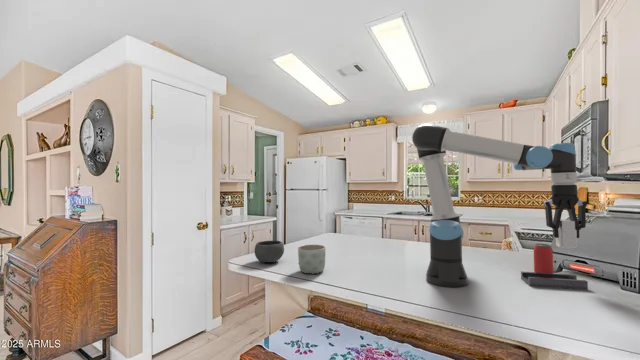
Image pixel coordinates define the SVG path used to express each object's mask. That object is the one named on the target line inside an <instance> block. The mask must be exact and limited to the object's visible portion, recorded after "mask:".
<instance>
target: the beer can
mask: <svg viewBox="0 0 640 360" xmlns="http://www.w3.org/2000/svg"><path fill="white" fill-rule="evenodd" d="M533 272H540V273H554V250H553V248H552V245H551V244H548V243H535V244H534V247H533Z"/></svg>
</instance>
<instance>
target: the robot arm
mask: <svg viewBox="0 0 640 360" xmlns="http://www.w3.org/2000/svg"><path fill="white" fill-rule="evenodd" d="M411 140H412V143H413V146H414V147H415V148H416V151H417V155H418V160H419V161H421V162H422V164H423V167H424V173H425V177H426V182H427V183H426V184H427V189H428V192H429V193H428V194H429V197H430V203H431V209H432V213H433V214H432V216H431V218H430V222H431V223H430V224H429V230H428V231H429V242H430V243H429V246H430V247H429V248H430V249H429V250H430V251H429V252H430V255H429V257H430V260H429V264H428V267H427V270H426V273H425V274H426V275H425V277H426V278H425V279H426V282H428V283H430V284H433V285H436V286H440V287H446V288H460V287H465V286H467V285H468V284H469V282H468V281H469V278H468V275H467V272H466V270H465V266H464V263H463V238H464V230H463V227H462V224H461V219H460V215H459V213H456V212H455V210H454V209H455V208H454V205H453V199H452V195H451V189H450V184H449V180H448V175H447V171H446V166H445V165H446V164H445V159H444V158H445V156H446V155H447V153H446V152H447V151H448V152H449V151H450V152H455V153H459V154H465V155H468V156H474V157H479V158H484V159H487V160H494V161H499V162H503V163H507V164H512V165H513V168H514V170H516V171H533V170H550V182H551V184H552V185H551V189H550V190H551V197H550V199H549V200H544V201H542V204H543V206H544V212H545V222H546V223H545V224H546V227H547V228H548V227H549V228H551V230H552V237H553V238H555V246H556V247H558V248H561V247H562V234H561V229H559V225H560V220H562V219H561V218H562V214H563V212H564V210H566V211H567V213H568V216H569V220H571V221H575V240H576V248H578V239H580V231H581V229H585V228H586V224H587V223H586V222H587V221H586V220H587V219H586V216H587V214H586V210H587V209H586V207H587V206H588V201H586V200H582V199H580V198H579V197H578V185H577V183H578V179H577V176H578V175H577V174H578V173H577V153H576V146H575V144H574V143H573V142H558V143H552V144H550V145H549V148H548V147H546V146H544V145H536V146H533V145H529V144H524V143H517V142H512V141H508V140H507V141H506V140H501V139H496V138H491V137H486V136H479V135H473V134H469V133H468V134H467V133H463V132H459V131H458V132H457V131H451V130H450V129H449V127H444V126H440V125H436V124H432V123H423V124H421V125H419V126H417V127H416V128H415V129H414V130H413V132H412V137H411ZM553 205H554V206H555V208H554V215H553V209H552V208H553V207H552V206H553ZM576 205H577V213H576Z"/></svg>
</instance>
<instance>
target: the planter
mask: <svg viewBox="0 0 640 360" xmlns="http://www.w3.org/2000/svg"><path fill="white" fill-rule="evenodd" d="M326 248H327V247H326V246H325V245H322V244H304V245H299V246H298V247H297V252H298V253H297V255H298V256H297V257H298V268H299V271H300V272H302V273H303V272H304V273H303V274H306V273H310V274H309V275H312V274H311V273H317V274H320V273H322V272H323V271H324V270H325V266H326V251H327V249H326ZM319 272H320V273H319Z"/></svg>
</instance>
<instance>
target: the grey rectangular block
mask: <svg viewBox="0 0 640 360" xmlns="http://www.w3.org/2000/svg"><path fill="white" fill-rule="evenodd" d="M559 229H561V234H562V247H560V248H562V249H576V240H575V221H571V220H570V219H561V220H560V225H559Z"/></svg>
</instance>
